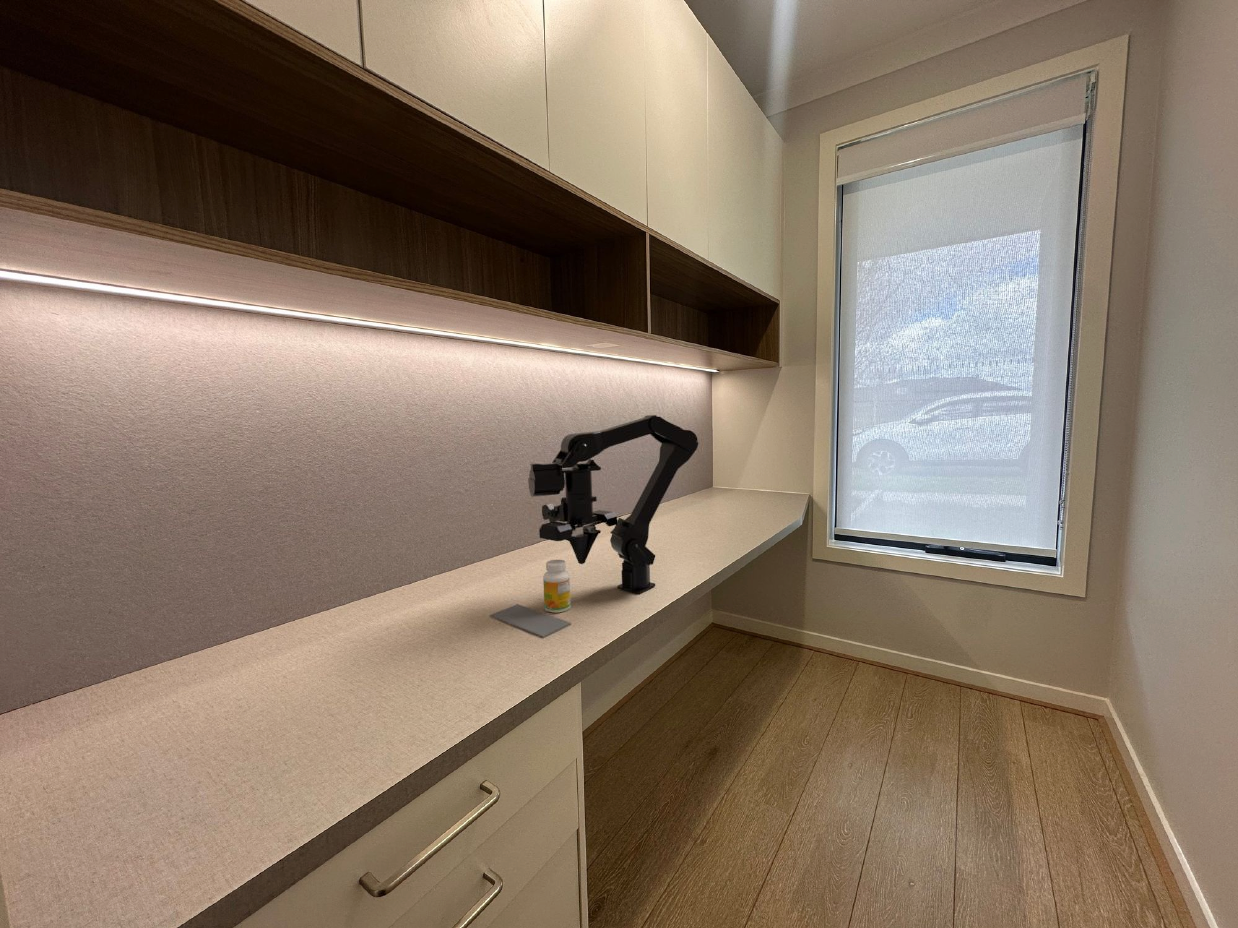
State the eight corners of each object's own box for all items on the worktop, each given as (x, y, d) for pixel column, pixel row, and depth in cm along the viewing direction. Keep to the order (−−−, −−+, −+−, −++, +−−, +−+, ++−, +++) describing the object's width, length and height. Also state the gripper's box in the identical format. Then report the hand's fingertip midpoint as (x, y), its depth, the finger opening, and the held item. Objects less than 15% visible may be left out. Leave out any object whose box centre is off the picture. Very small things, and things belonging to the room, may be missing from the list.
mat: (517, 605, 102) (517, 603, 102) (571, 624, 92) (571, 622, 92) (489, 616, 96) (489, 614, 96) (543, 637, 86) (543, 636, 86)
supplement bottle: (539, 607, 100) (537, 562, 99) (561, 601, 104) (560, 556, 103) (553, 615, 96) (551, 568, 95) (575, 608, 99) (574, 562, 98)
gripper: (581, 484, 116) (584, 548, 117) (520, 495, 101) (523, 568, 103) (617, 487, 109) (619, 555, 110) (556, 500, 94) (560, 577, 96)
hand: (581, 563), depth 105 cm, fingers closed
